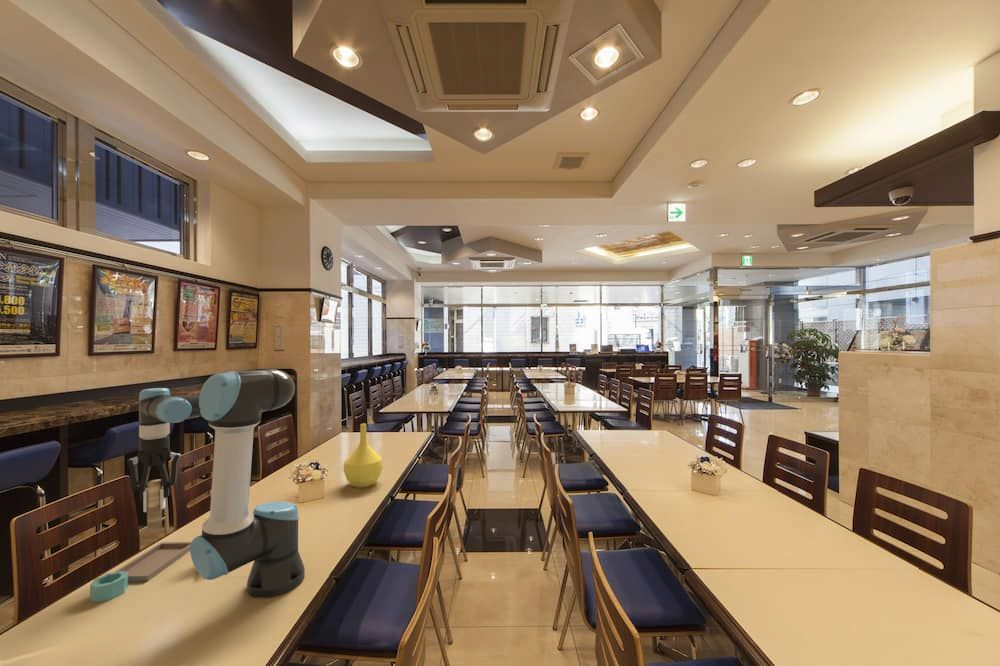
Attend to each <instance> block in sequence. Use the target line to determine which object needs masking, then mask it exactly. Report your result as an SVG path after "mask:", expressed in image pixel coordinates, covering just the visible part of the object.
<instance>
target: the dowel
mask: <svg viewBox="0 0 1000 666" xmlns="http://www.w3.org/2000/svg"><path fill="white" fill-rule="evenodd" d="M162 487H163V484H162V480H161V478H160V479H152V480H149V481H147V486H146V489H147V512H146V521H147V522H146V526H147V529H146V530H147V531H149V532H150V531H157V530H159V529H160V528H162V527H163V509H161V510H160V489H161V488H162Z"/></svg>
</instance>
